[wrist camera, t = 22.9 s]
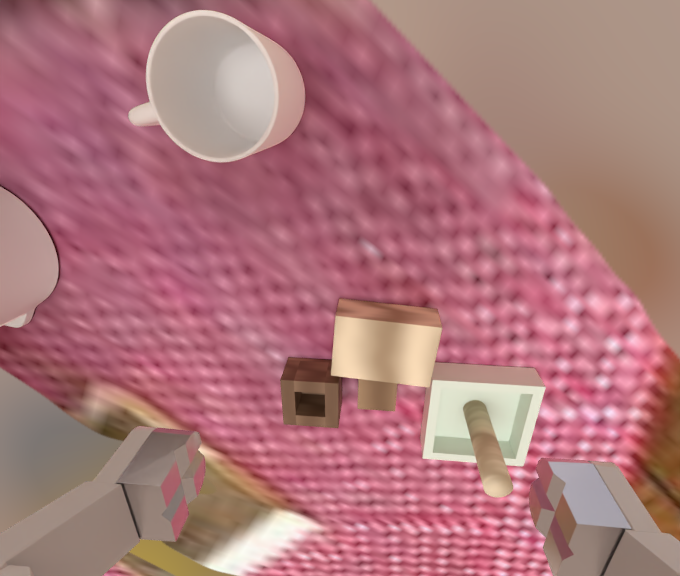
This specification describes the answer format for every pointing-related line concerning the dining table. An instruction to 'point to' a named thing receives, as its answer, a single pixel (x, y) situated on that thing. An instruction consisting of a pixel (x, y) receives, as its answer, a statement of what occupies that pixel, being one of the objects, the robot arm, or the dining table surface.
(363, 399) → the small brown block
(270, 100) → the cup
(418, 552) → the dining table surface
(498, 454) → the dowel
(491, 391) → the tray
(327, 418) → the socket block
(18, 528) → the robot arm
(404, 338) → the board
